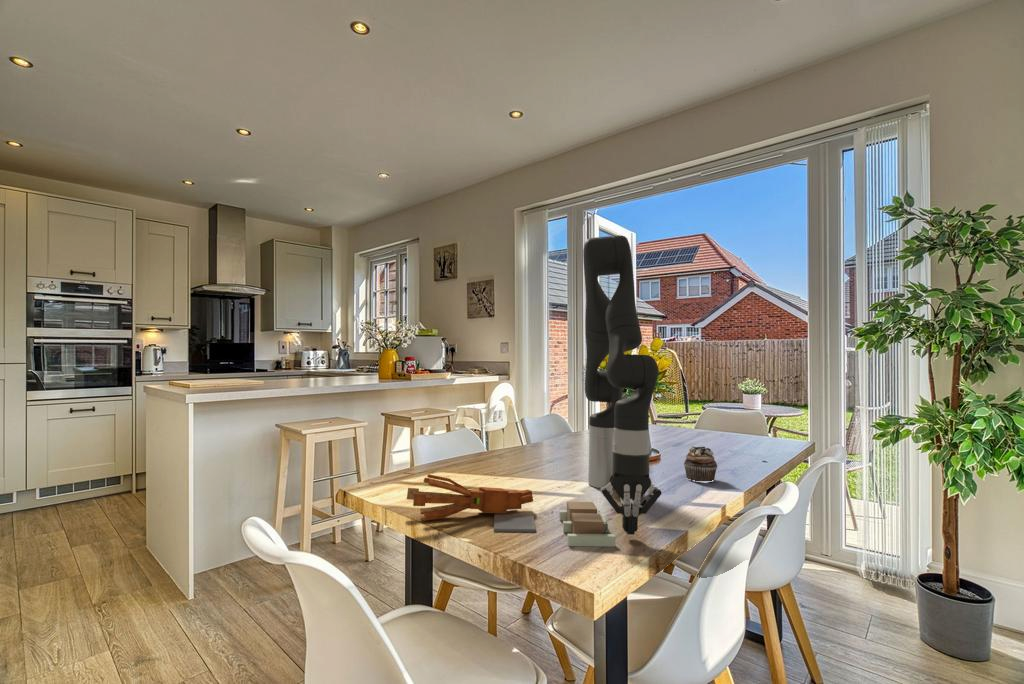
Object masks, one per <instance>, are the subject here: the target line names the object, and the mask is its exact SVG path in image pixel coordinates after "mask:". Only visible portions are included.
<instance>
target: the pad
mask: <svg viewBox="0 0 1024 684" xmlns="http://www.w3.org/2000/svg"><path fill="white" fill-rule="evenodd" d="M493 514H494V516H493V517H494V518H493V532H499V533H500V532H502V533H503V532H505V533H506V532H511V533H513V532H514V533H517V532H518V533H533V532H534V533H536V532H537V531H536V525H535V518H534V515H533V514H498V513H493Z"/></svg>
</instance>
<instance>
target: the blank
mask: <svg viewBox="0 0 1024 684" xmlns="http://www.w3.org/2000/svg"><path fill="white" fill-rule="evenodd" d="M603 532H604V522H603V519H602V517H601V515H600V514H593V513H572V521H571V533H570V534H604V533H603Z"/></svg>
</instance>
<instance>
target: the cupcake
mask: <svg viewBox="0 0 1024 684" xmlns="http://www.w3.org/2000/svg"><path fill="white" fill-rule="evenodd" d="M688 450H689V452H688V453H687V454H686V456H685V460H684V463H683V465H684V470H685V474H686V475H685V477H686V479H687V478H688V479H691V480H695V481H712V480H714V481H715V477H716V472H717V469H718V464H717V462H716V460H715V456H714V451H712V449H711V448H709V447H705V446H698V447H697V446H691V447H689V448H688Z"/></svg>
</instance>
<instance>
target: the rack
mask: <svg viewBox="0 0 1024 684" xmlns="http://www.w3.org/2000/svg"><path fill="white" fill-rule="evenodd" d="M558 512H559V513H558V515H559V516H558V519H559V521H560V522H561V521H562V532H563V534H565V533H567V535H566V536H567V537H566V538H567V539H566V541H567V542H566V544H567V547H616V535H615V533H609V523H608V521H607V520H606V518H605V516H604V515H603V513H602V511H601V510H598V508H597V506H596V505H595V502H593V501H566V509H564V510H563V509H561V510H560V509H559V510H558ZM572 513H593V514H600V515H601V517H602V519H603V522H604V532H603V534H571V521H572Z"/></svg>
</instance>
